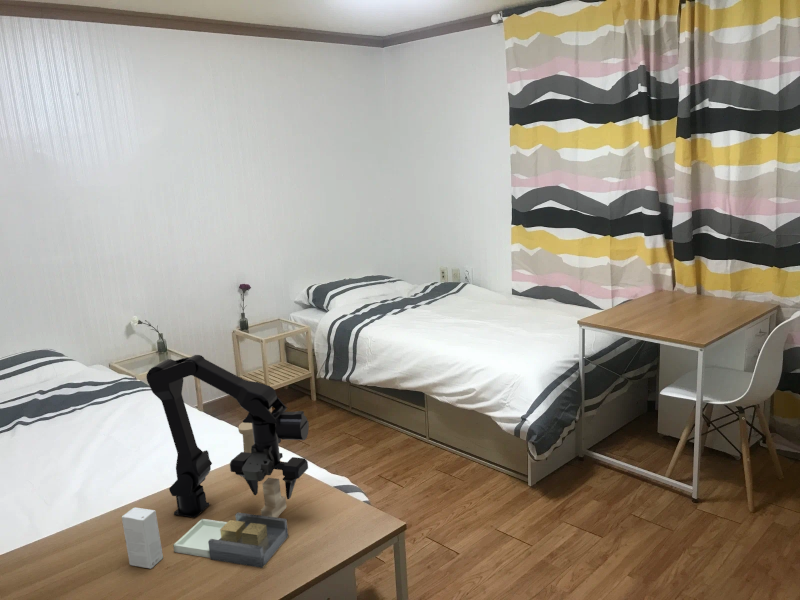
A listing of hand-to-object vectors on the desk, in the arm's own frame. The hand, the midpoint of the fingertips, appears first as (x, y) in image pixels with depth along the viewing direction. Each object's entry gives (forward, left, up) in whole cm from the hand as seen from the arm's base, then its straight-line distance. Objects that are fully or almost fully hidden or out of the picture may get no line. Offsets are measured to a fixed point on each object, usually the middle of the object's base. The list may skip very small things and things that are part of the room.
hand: (272, 496), depth 157 cm
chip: (+3, -14, -2) cm, 15 cm away
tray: (-10, -14, -5) cm, 18 cm away
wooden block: (-2, -14, -2) cm, 14 cm away
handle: (-16, +17, -5) cm, 24 cm away
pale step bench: (0, 0, -5) cm, 5 cm away
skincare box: (-19, -24, -5) cm, 31 cm away
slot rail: (+2, -14, -5) cm, 15 cm away
